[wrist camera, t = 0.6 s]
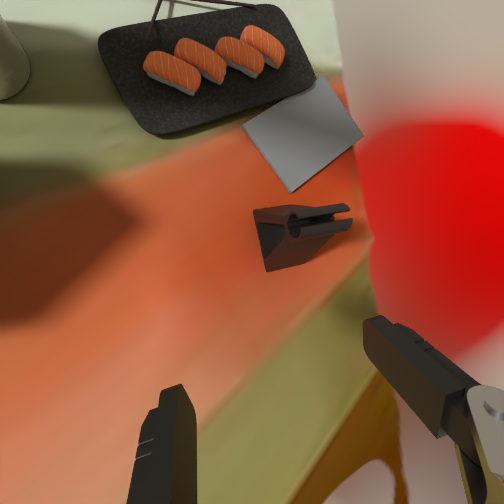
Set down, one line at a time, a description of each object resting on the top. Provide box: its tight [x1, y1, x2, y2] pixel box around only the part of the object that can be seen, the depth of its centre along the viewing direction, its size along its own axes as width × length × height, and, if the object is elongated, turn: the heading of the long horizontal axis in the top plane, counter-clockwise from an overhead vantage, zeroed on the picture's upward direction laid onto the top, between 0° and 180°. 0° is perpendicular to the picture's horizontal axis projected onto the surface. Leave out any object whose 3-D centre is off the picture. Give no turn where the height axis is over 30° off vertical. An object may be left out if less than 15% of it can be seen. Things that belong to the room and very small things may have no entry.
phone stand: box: [253, 203, 353, 272], centre depth 29 cm, size 9×6×12 cm, turn 13°
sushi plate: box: [98, 0, 314, 135], centre depth 33 cm, size 29×30×4 cm
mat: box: [242, 76, 363, 193], centre depth 38 cm, size 12×18×1 cm, turn 130°
